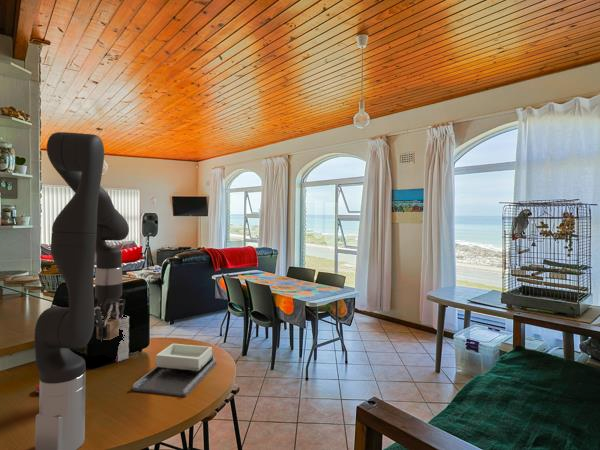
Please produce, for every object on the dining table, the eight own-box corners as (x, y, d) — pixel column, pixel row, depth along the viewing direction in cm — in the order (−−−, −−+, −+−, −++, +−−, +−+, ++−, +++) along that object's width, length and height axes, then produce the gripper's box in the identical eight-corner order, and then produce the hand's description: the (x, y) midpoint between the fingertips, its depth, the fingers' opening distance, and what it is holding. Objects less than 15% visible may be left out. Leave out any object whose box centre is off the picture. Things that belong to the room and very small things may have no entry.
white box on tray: (198, 375, 124) (198, 359, 124) (155, 371, 126) (156, 355, 126) (211, 361, 135) (212, 347, 135) (172, 358, 138) (172, 343, 138)
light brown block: (109, 340, 112) (110, 323, 112) (96, 338, 112) (96, 322, 112) (119, 335, 116) (119, 319, 116) (106, 334, 117) (106, 318, 117)
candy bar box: (100, 355, 141) (100, 313, 141) (112, 351, 146) (113, 311, 145) (117, 362, 135) (117, 319, 135) (129, 358, 140) (130, 316, 139)
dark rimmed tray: (185, 396, 112) (186, 383, 112) (132, 390, 115) (132, 378, 115) (216, 364, 137) (216, 353, 137) (171, 359, 139) (171, 349, 139)
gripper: (104, 287, 106) (103, 345, 107) (133, 278, 120) (132, 329, 121) (81, 285, 107) (80, 342, 108) (112, 277, 121) (112, 328, 122)
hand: (108, 335), depth 114 cm, fingers closed on light brown block, 4 cm apart
